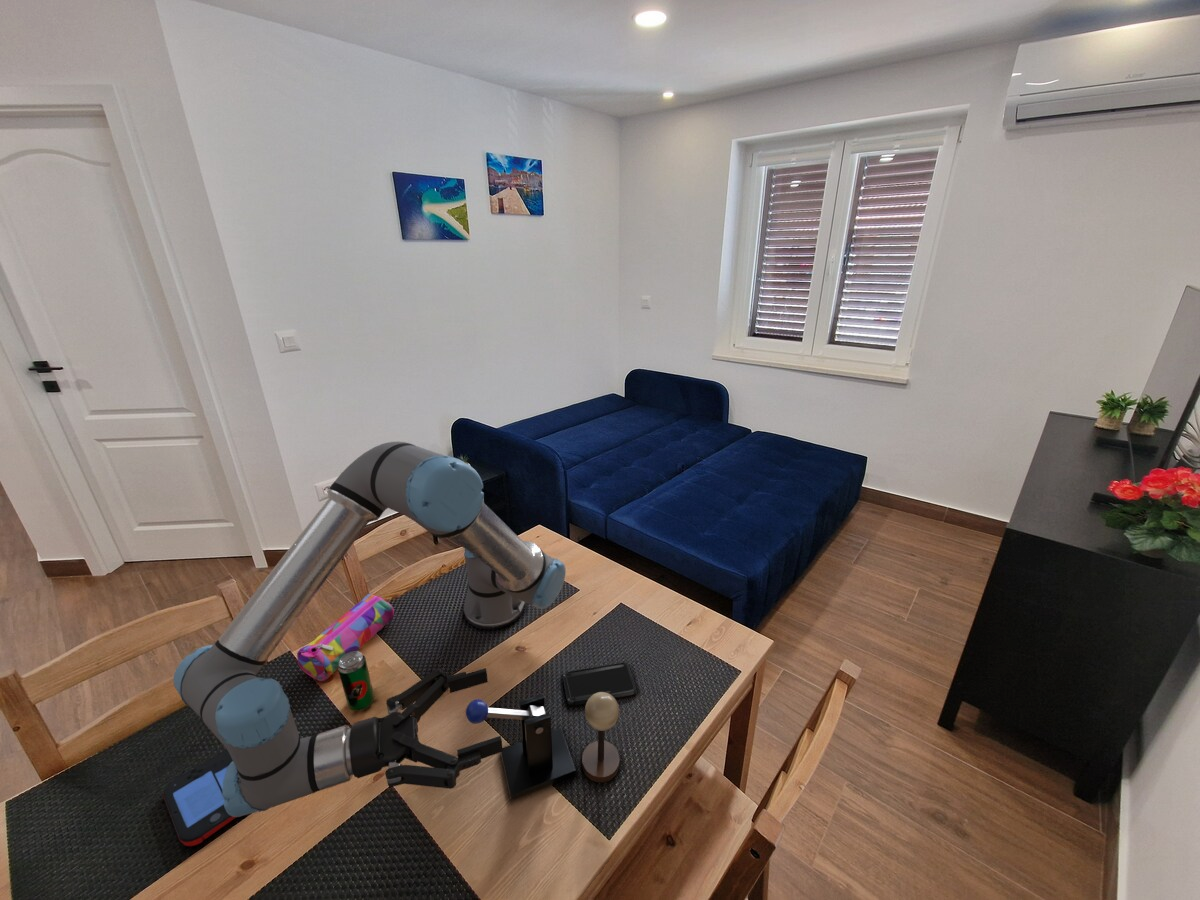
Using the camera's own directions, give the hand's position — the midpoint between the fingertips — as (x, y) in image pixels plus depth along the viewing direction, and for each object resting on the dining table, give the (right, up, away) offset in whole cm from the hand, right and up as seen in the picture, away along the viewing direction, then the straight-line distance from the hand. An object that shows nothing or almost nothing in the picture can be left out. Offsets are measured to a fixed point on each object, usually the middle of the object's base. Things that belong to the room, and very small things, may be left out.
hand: (494, 706), depth 80 cm
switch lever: (+1, -4, +2) cm, 4 cm away
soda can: (-32, -10, +21) cm, 40 cm away
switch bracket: (+6, -16, +10) cm, 20 cm away
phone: (+17, -9, +26) cm, 32 cm away
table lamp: (+18, -16, +10) cm, 26 cm away
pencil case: (-41, -5, +34) cm, 54 cm away
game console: (-49, -18, +4) cm, 52 cm away
